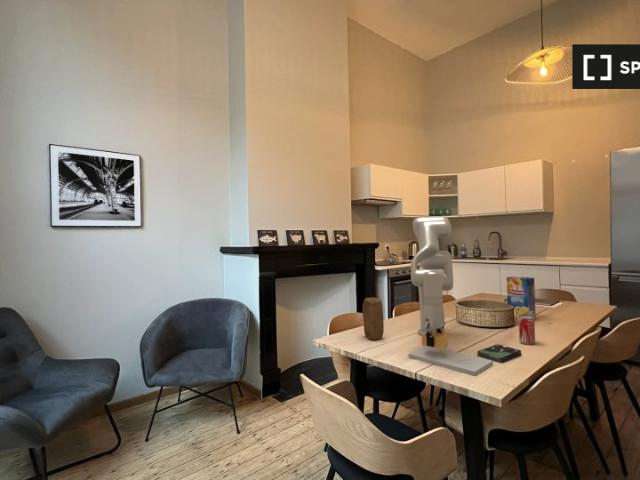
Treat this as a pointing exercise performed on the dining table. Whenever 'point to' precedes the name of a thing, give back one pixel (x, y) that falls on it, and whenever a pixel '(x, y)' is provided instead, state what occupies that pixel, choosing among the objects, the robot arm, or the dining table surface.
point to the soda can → (526, 330)
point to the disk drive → (499, 353)
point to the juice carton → (521, 296)
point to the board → (452, 360)
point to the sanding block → (437, 340)
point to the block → (373, 318)
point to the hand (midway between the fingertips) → (434, 344)
